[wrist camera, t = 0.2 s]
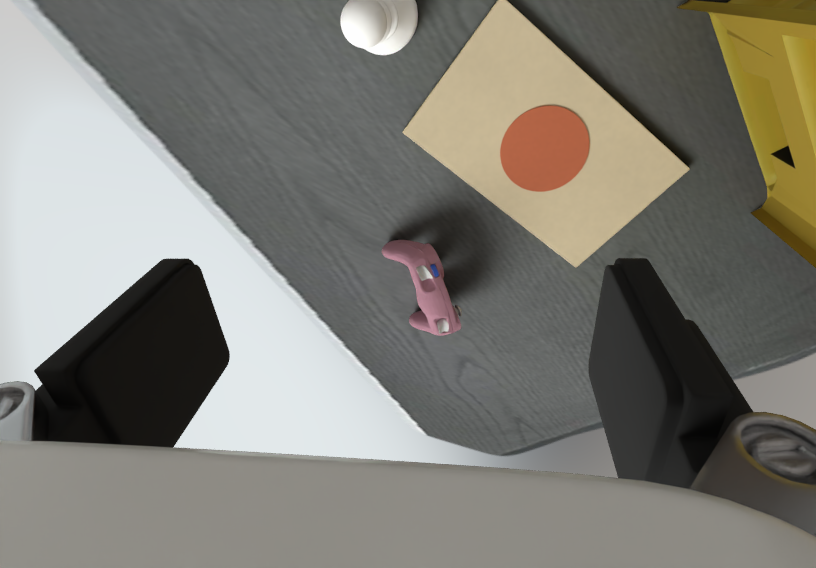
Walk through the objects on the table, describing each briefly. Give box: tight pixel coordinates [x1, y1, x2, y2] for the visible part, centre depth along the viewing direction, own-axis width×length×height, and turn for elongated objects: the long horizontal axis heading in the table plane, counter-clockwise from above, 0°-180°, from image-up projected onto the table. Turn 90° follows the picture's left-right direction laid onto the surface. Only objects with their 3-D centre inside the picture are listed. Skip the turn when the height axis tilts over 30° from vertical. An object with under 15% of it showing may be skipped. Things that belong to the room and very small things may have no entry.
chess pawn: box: [341, 0, 418, 55], centre depth 31 cm, size 5×5×9 cm
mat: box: [403, 0, 690, 267], centre depth 38 cm, size 12×20×1 cm, turn 54°
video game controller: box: [382, 240, 462, 335], centre depth 44 cm, size 10×5×7 cm, turn 18°
